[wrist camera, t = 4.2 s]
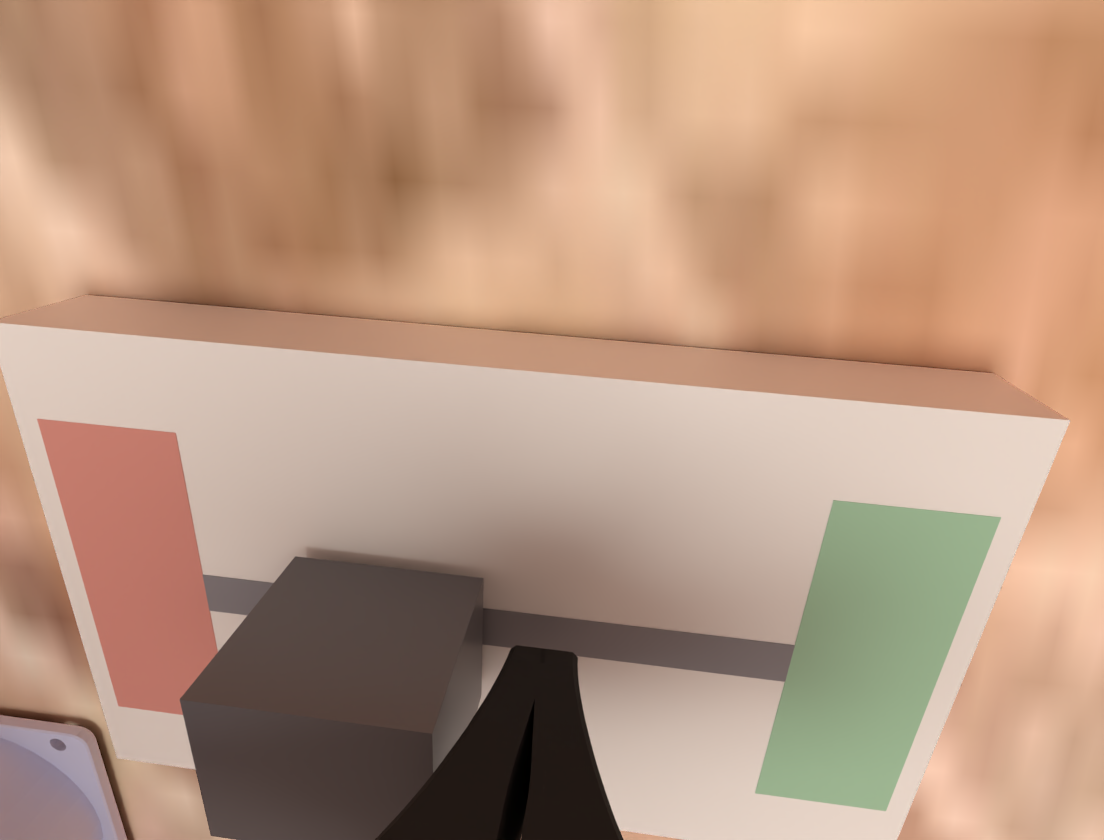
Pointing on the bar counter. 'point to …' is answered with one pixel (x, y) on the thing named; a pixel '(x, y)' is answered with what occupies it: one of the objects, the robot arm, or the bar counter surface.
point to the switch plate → (550, 530)
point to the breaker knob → (335, 700)
